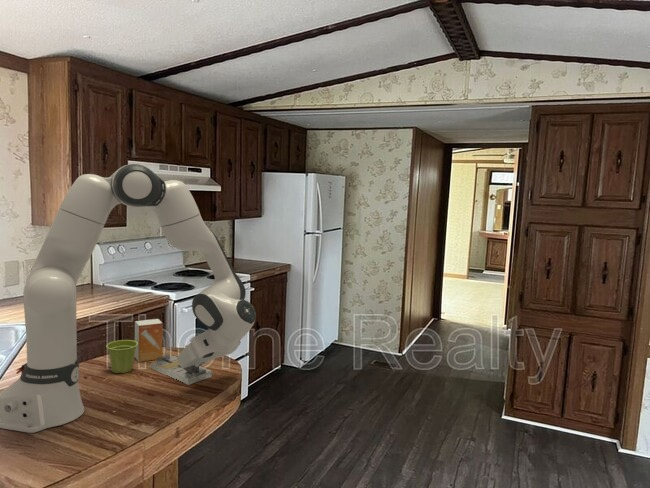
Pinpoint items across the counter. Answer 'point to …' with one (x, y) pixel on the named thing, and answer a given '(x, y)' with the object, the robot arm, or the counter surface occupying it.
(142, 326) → the small box
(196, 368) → the fader knob
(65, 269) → the robot arm
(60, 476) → the counter surface
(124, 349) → the plant pot
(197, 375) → the fader console
